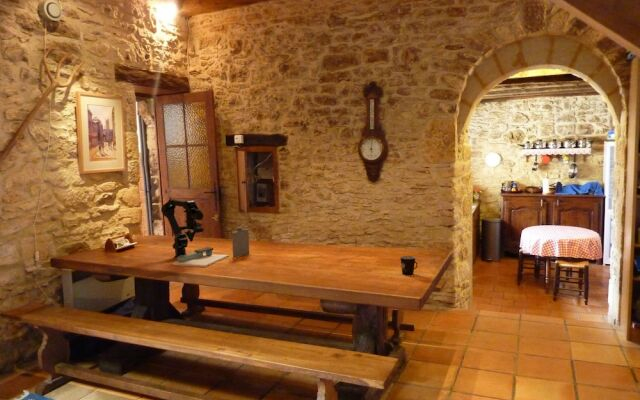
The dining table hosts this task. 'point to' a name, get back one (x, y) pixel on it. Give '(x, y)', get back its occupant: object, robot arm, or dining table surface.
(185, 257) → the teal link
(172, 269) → the dining table surface
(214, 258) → the cream base plate
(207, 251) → the iron keeper
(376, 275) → the dining table surface
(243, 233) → the hip flask
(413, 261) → the coffee mug
